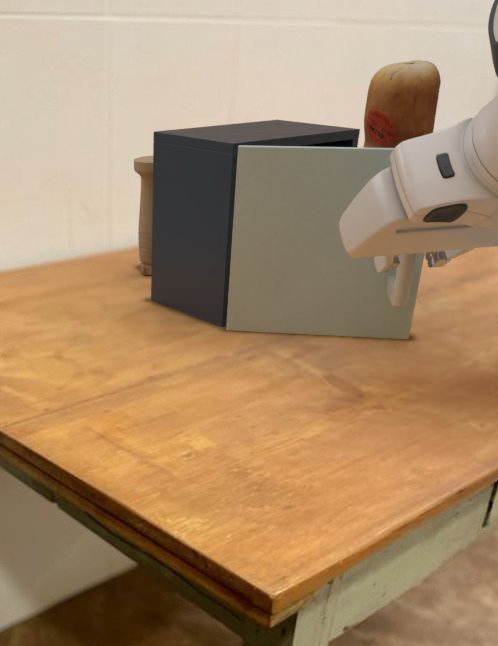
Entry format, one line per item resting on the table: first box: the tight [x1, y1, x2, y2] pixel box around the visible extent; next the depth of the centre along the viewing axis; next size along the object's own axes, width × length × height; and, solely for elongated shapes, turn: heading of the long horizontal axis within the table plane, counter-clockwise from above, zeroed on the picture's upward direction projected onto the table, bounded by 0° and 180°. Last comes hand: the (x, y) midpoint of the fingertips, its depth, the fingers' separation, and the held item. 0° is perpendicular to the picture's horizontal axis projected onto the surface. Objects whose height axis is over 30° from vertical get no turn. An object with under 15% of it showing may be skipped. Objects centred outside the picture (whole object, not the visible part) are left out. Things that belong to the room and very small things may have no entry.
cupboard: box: [150, 119, 361, 328], centre depth 98 cm, size 13×20×20 cm, turn 127°
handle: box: [133, 155, 153, 276], centre depth 111 cm, size 5×6×15 cm
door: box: [225, 145, 426, 340], centre depth 84 cm, size 7×20×20 cm, turn 81°
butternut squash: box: [363, 59, 441, 148], centre depth 136 cm, size 14×13×25 cm
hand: (407, 263), depth 80 cm, fingers open, 4 cm apart
